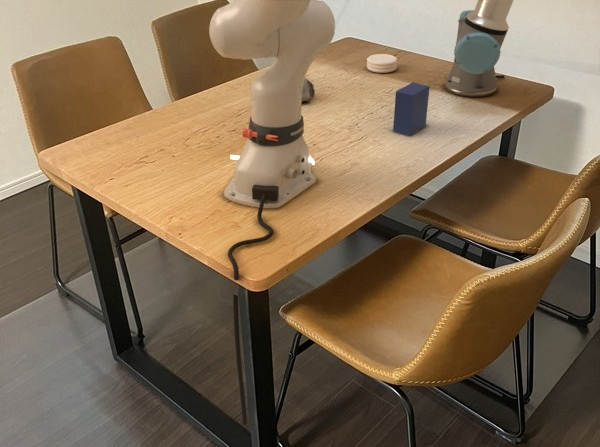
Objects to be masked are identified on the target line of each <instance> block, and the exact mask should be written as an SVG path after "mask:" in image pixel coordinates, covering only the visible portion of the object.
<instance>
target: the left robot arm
mask: <svg viewBox="0 0 600 447" xmlns="http://www.w3.org/2000/svg"><path fill="white" fill-rule="evenodd" d="M335 32H336V19H335V15H334V13H333V11H332V9H331V8H330V6H329V5H328V4H327V3H326V2H325V1H323V0H233V1H231V2H230V3H228V4H226V5H223V6H221V7H218V8H217V9H216V10H215V11H214V13H213V14H212V16H211V18H210V23H209V28H208V33H209V39H210V42H211V45H212V46H213V48H214V50H215V51H216V52H217V53H218V54H219V55H220V56H221V57H222V58H228V59H233V60H245V61H247V60H256V59H257V60H258V59H267V58H274V60H273V62H272V63H271V64H270V65H269V67H268V68H266V69H265V70H263V71H262V72H260V73H259V74H257V75H256V76H255V78H254V79H253V80H252V82H251V84H250V86H249V101H250V102H249V103H250V117H249V123H248V126H247V128H245V127H244V128H243V129H242V131H241V137H242V138H244V139H247V140H246V142H245V144H244V146H243V148H242V151H241V153H240V154H239V155H236V154H230V156H229V157H230V160H237V161H236V163H235V166H234V167H233V168H234V169H233V177H232V178H231V180H230V181H229V183H228V184H227V186H226V187H225V188H224V190H223V196H224V198H225V199H228V200H229V201H231V202H233V203H237V204H239V205H244V206H248V207H252V208H258V210H257V214H256V216H257V221H258V224H259V225H260V226H261V227H262V228H264V229H265V230H266V231H268V233H267V234H266V235H264V236H261V237H257V238H250V239H244V240H241V241H238V242H236V243H234V244H233V245H232V246H231V247H230V248H229V249H228V250H227V258H228V259H229V261H230V263H231V265H232V268H233V279H234V281H239V280H240V271H239V265H238V262H237V260H236V258H235V257H234V255H233V253H234V251H236V249H238V248H239V247H242V246H247V245H252V244H258V243H263V242H265V241H267V240H269V239H271V238H272V236H273V235H274V229H273V228H272V227H271V226H270V225H269V224H268V223H265V221H264V220H263V216H262V215H263V210H264V209H278V208H280V207H283V205H285V204H286V203H288V202H289V201H292V199H294V198H295V197H296V196H298V195H299V194H301V193H303V192H304V191H305V190H307V189H308V188H309V187H311V186H313V185H314V184H316V182H317V176H316V175H315V174H314V173H312V167H311V164H312V166H315V160H314V159H313V157H312V156H311V154H310V147H309V145H308V144H307V142H306V140H305V138H304V133H305V132H304V131H305V130H304V127H305V121H304V116H303V115H302V101H301V100H302V86H303V82H304V78H305V77H306V75H307V73H308V71H309V69H310V67H311V66H312V64H313V62H314V61H315V60H316V58H317V57H318V56H319V55H321V53H322V52H324V50H326V49H327V48H328V47H329V46H330V44H331V42H332V41H333V39H334V36H335ZM232 297H233V298H232V304H233V305H232V306H233V329H234V330H233V331H234V332H233V333H234V346H235V357H236V367H237V368H236V369H237V377H238V378H237V379H238V386H239V388H238V389H239V397H240V405H241V406H240V407H241V417H242V425H244V426H246V425H247V424H248V418H247V406H246V405H247V404H246V395H245V384H244V376H243V364H242V354H241V353H242V352H241V340H240V322H239V321H240V320H239V319H240V318H239V295H236V294H233V295H232Z"/></svg>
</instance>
